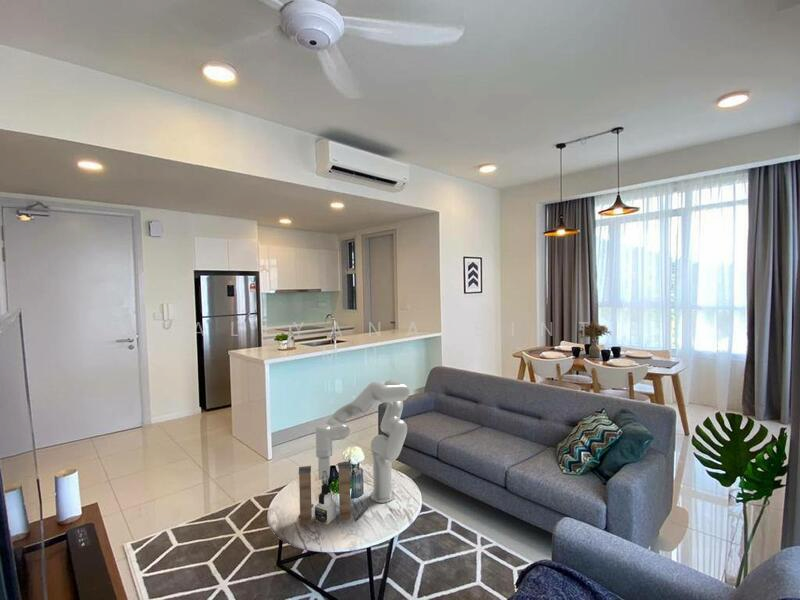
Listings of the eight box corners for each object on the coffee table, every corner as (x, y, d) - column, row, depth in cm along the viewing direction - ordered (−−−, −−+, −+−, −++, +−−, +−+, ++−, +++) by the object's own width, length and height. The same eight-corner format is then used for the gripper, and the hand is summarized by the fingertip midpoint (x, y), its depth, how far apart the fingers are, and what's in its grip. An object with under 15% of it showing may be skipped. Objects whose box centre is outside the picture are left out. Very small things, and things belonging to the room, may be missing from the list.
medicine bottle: (314, 521, 178) (314, 495, 178) (324, 513, 184) (324, 488, 184) (327, 525, 175) (326, 499, 174) (336, 516, 181) (336, 491, 181)
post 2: (339, 513, 183) (337, 462, 183) (350, 512, 184) (349, 461, 184) (339, 520, 178) (338, 468, 177) (351, 518, 179) (350, 466, 178)
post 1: (300, 518, 180) (299, 467, 179) (312, 517, 181) (310, 465, 180) (299, 525, 174) (298, 472, 174) (312, 524, 176) (310, 471, 175)
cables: (306, 505, 191) (306, 503, 191) (368, 507, 188) (368, 505, 188) (298, 518, 180) (298, 515, 180) (364, 520, 177) (364, 518, 177)
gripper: (316, 445, 186) (317, 479, 187) (315, 460, 169) (316, 498, 170) (331, 443, 188) (332, 478, 188) (333, 458, 171) (333, 496, 171)
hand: (325, 487), depth 179 cm, fingers open, 9 cm apart
